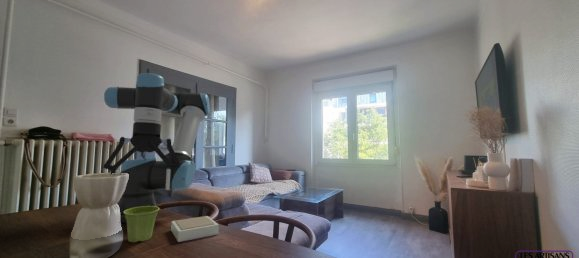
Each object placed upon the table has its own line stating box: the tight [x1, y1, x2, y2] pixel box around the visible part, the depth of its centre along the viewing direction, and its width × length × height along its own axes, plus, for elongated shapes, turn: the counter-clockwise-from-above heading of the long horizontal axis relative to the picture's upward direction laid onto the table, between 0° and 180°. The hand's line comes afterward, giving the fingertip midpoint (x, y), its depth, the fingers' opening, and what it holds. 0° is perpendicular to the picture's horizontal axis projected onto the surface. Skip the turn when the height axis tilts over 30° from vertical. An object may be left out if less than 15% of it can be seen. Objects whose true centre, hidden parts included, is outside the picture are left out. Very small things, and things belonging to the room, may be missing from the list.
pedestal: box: [170, 215, 220, 243], centre depth 79 cm, size 12×12×3 cm
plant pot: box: [124, 205, 160, 243], centre depth 73 cm, size 9×9×9 cm
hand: (142, 191), depth 73 cm, fingers open, 13 cm apart
